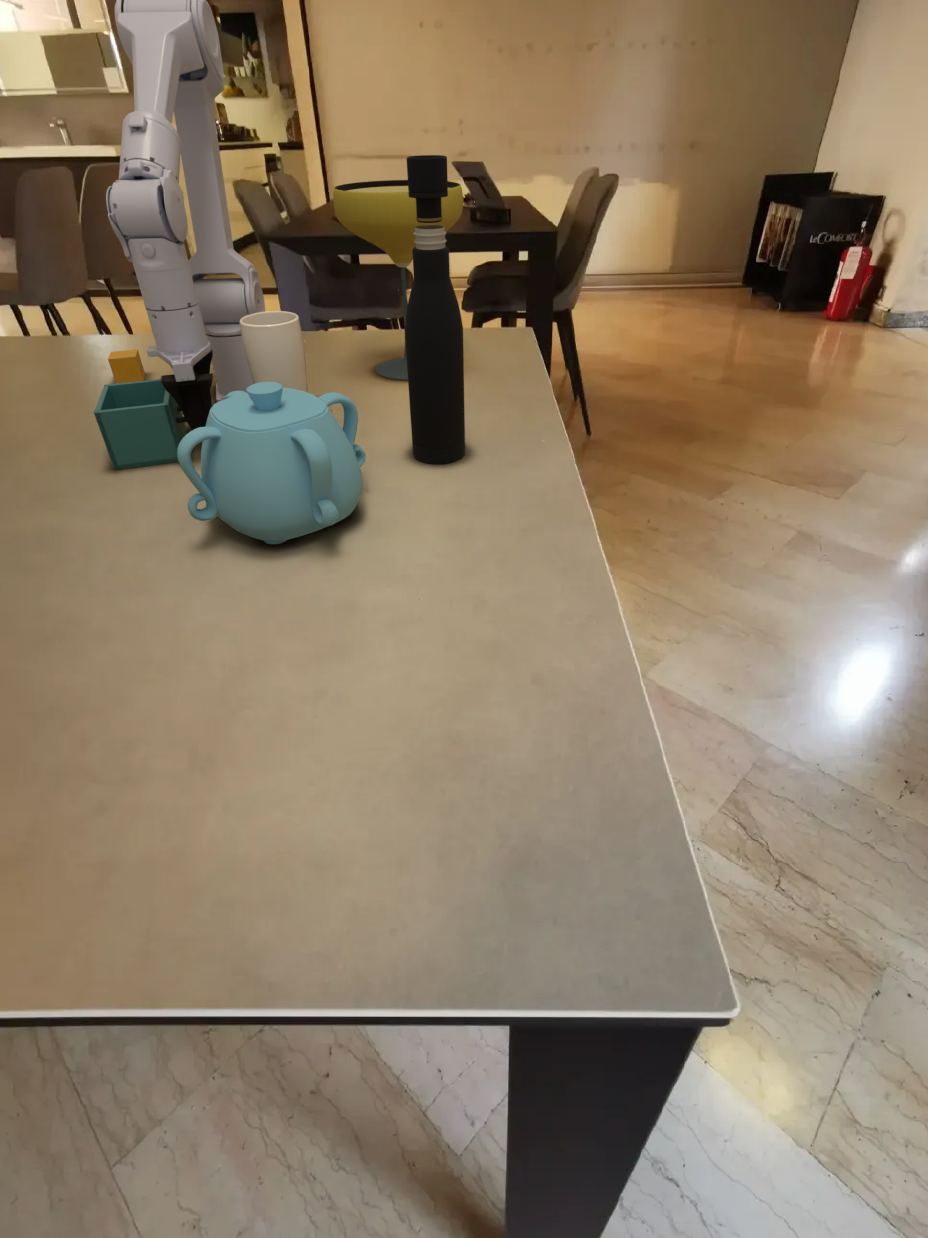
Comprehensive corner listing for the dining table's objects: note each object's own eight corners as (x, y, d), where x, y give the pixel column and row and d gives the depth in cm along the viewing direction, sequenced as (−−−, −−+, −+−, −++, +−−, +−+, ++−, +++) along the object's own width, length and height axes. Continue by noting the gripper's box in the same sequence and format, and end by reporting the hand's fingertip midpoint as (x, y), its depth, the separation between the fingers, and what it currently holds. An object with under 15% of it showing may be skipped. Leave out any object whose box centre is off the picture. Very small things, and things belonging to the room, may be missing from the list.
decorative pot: (178, 548, 65) (133, 412, 57) (252, 475, 78) (224, 355, 69) (334, 564, 62) (312, 424, 54) (386, 486, 75) (373, 362, 66)
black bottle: (459, 466, 79) (452, 158, 60) (407, 462, 80) (384, 158, 61) (469, 444, 84) (466, 153, 65) (420, 441, 85) (403, 154, 66)
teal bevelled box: (216, 427, 90) (203, 374, 85) (217, 456, 82) (202, 400, 78) (122, 438, 87) (104, 384, 83) (114, 470, 80) (93, 412, 75)
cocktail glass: (339, 362, 111) (316, 184, 96) (438, 347, 117) (432, 177, 102) (374, 395, 98) (354, 195, 83) (484, 377, 104) (485, 187, 89)
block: (145, 374, 108) (137, 349, 105) (143, 382, 105) (135, 356, 102) (119, 377, 107) (110, 351, 104) (116, 385, 104) (107, 359, 101)
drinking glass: (253, 448, 84) (225, 321, 75) (288, 429, 89) (266, 308, 79) (295, 458, 81) (272, 328, 72) (329, 438, 86) (311, 314, 77)
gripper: (139, 294, 80) (171, 405, 89) (128, 324, 69) (166, 447, 78) (200, 289, 82) (226, 399, 90) (199, 318, 71) (229, 439, 79)
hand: (203, 421), depth 84 cm, fingers open, 7 cm apart
